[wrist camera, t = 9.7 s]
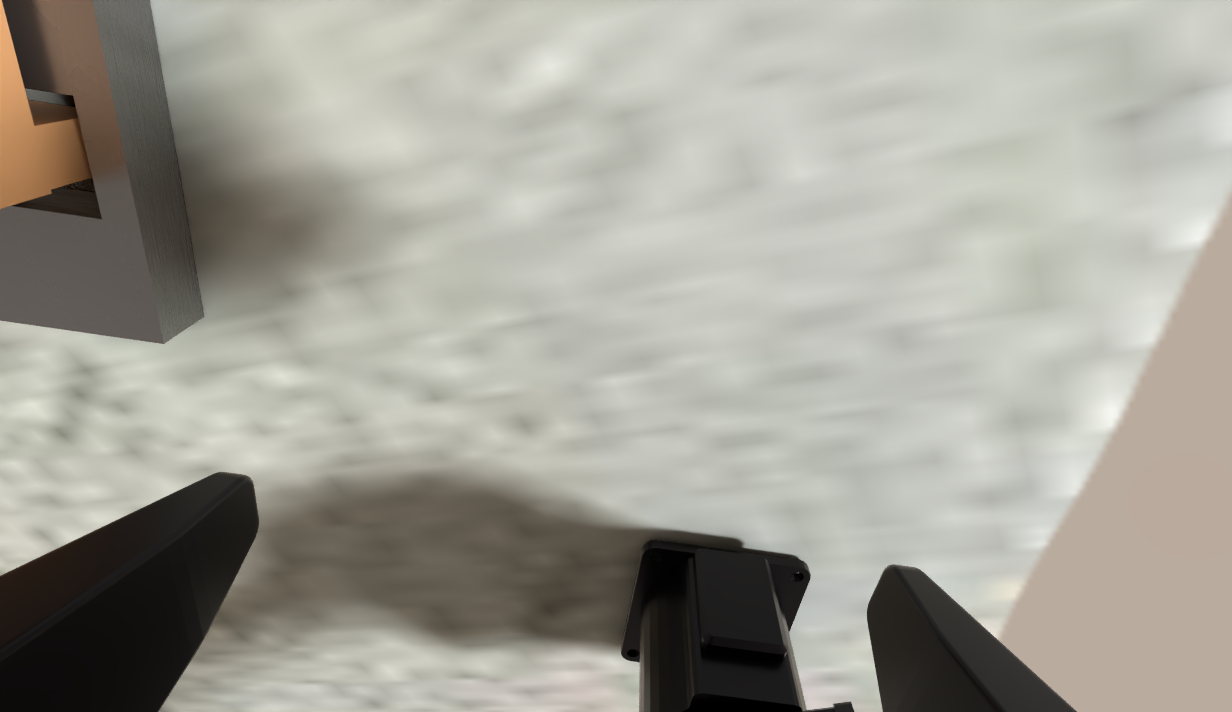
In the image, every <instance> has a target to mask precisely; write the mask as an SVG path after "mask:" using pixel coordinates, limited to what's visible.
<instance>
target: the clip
mask: <svg viewBox="0 0 1232 712" xmlns="http://www.w3.org/2000/svg"><path fill="white" fill-rule="evenodd" d="M89 178H92V174H91V170H90V165H89V161H88V157H87V153H86V148H85V144H84V140H83V136H82V131H81V127H80V123H79V119H78V114H77V110H76V108H75V107H68V106H62V105H56V104H50V103H44V102H37V101H31V100H27V96H26V92H25V88H24V84H23V80H22V77H21V73H20V69H19V65H18V61H17V57H16V53H15V50H14V46H13V42H12V38H11V34H10V30H9V27H8V23H7V19H6V15H5V11H4V7H3V3H2V0H0V209H1V208H5V207H8V206H12V205H15V204H18V203H22V202H25V201H28V200H32V199H35V198H38V197H42V196H45V195H48V194H52V192H51V189H55V188H58V187H62V186H65V185H69V184H72V183H75V182H79V181H82V180H86V179H89Z"/></svg>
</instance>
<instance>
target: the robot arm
mask: <svg viewBox="0 0 1232 712" xmlns="http://www.w3.org/2000/svg"><path fill="white" fill-rule="evenodd" d="M258 527H259V516H258V510H257V503H256V497H255V490H254V485H253V481H252V480H251V478H250V477H248V476H246V475H242V474H235V473H227V472H218V473H215V474H212V475H210V476H208V477H206V478H204V479H202V480H200V481H198V482H196V483H193V484H191V485H189V486H187V487H185V488H183V489H181V490H179V491H177V492H175V493H173V494H170V495H168V496H166V497H164V498H162V499H160V500H158V501H156V502H154V503H152V504H150V505H147V506H145V507H143V508H141V509H139V510H137V511H135V512H133V513H131V514H129V515H127V516H124V517H122V518H120V519H118V520H116V521H114V522H112V523H110V524H108V525H106V526H104V527H101V528H99V529H97V530H95V531H93V532H91V533H89V534H87V535H85V536H83V537H81V538H78V539H76V540H74V541H72V542H70V543H68V544H66V545H64V546H62V547H60V548H58V549H55V550H53V551H51V552H49V553H47V554H45V555H43V556H41V557H39V558H37V559H35V560H32V561H30V562H28V563H26V564H24V565H22V566H20V567H18V568H16V569H14V570H12V571H9V572H7V573H5V574H3V575H1V576H0V712H158V711H159V710H160V708H161V707H162V705H163V704H164V702H165V700H166V699H167V697H168V696H169V694H170V693H171V691H172V689H173V688H174V686H175V685H176V683H177V682H178V680H179V678H180V677H181V675H182V674H183V672H184V671H185V669H186V667H187V666H188V664H189V663H190V661H191V660H192V658H193V656H194V655H195V653H196V651H197V650H198V648H199V647H200V645H201V643H202V642H203V640H204V638H205V636H206V634H207V633H208V631H209V629H210V627H211V625H212V623H213V621H214V619H215V617H216V615H217V613H218V611H219V609H220V607H221V605H222V603H223V601H224V599H225V597H226V595H227V593H228V591H229V589H230V587H231V585H232V583H233V581H234V579H235V577H236V575H237V573H238V571H239V569H240V567H241V565H242V563H243V561H244V559H245V557H246V555H247V553H248V551H249V549H250V547H251V545H252V543H253V541H254V539H255V537H256V534H257V531H258ZM652 553H659V554H658V555H653V554H652ZM795 572H800V573H798V574H793V573H795ZM810 576H811V575H810V572H809V568H808V566H807V564H806V563H805V562H804V561H801V560H796V559H789V558H781V557H774V556H767V555H760V554H752V553H745V552H738V551H731V550H723V549H716V548H709V547H702V546H694V545H687V544H680V543H673V542H665V541H658V540H652V541H649V542H647V543H646V544H644V546H643V548H642V552H641V557H640V561H639V566H638V570H637V575H636V580H635V584H634V589H633V593H632V598H631V603H630V607H629V612H628V616H627V621H626V626H625V630H624V635H623V639H622V646H621V655H622V656H623V658H625V659H626V660H629V661H635V662H640V688H639V712H854V710H853V707H852V704H851V702H844V703H836V704H833V705H834V707H830V708H822V709H814V710H807V709H806V705H805V701H804V696H803V692H802V688H801V683H800V679H799V675H798V670H797V666H796V662H795V657H794V653H793V649H792V644H791V640H790V636H789V631H790V629H791V626H792V624H793V621H794V619H795V616H796V614H797V611H798V608H799V606H800V603H801V601H802V598H803V596H804V593H805V591H806V588H807V586H808V583H809V581H810ZM867 621H868V627H869V633H870V639H871V645H872V651H873V657H874V662H875V668H876V674H877V680H878V686H879V691H880V697H881V703H882V709H883V712H1077V711H1076V710H1074V709H1073V708H1072V707H1071V706H1070V705H1069V704H1068V703H1067V702H1066V701H1065V700H1063V699H1062V698H1061V697H1060V696H1059V695H1058V694H1057V693H1056V692H1055V691H1054V690H1052V689H1051V688H1050V687H1049V686H1048V685H1047V684H1046V683H1045V682H1044V681H1043V680H1041V679H1040V678H1039V677H1038V676H1037V675H1036V674H1035V673H1034V672H1032V670H1030V669H1029V668H1028V667H1027V666H1026V665H1025V664H1024V663H1023V662H1022V661H1020V660H1019V659H1018V658H1017V657H1016V656H1015V655H1014V654H1013V653H1012V652H1011V651H1010V650H1008V649H1007V648H1006V647H1005V646H1004V645H1003V644H1002V643H1001V642H1000V641H999V640H997V639H996V638H995V637H994V636H993V635H992V634H991V633H990V632H989V631H987V630H986V629H985V628H984V627H983V626H982V625H981V624H980V623H979V622H978V621H976V620H975V619H974V618H973V617H972V616H971V615H970V614H969V613H968V612H967V611H965V610H964V609H963V608H962V607H961V606H960V605H959V604H958V603H957V602H956V601H954V600H953V599H952V598H951V597H950V596H949V595H948V594H947V593H946V592H945V591H943V590H942V589H941V588H940V587H939V586H938V585H937V584H936V583H935V582H934V581H932V580H931V579H930V578H929V577H928V576H927V575H926V574H925V573H924V572H922V571H921V570H920V569H918V568H915V567H909V566H902V565H889V566H887V567H886V568H885V570H884V571H883V573H882V575H881V578H880V580H879V582H878V584H877V586H876V588H875V591H874V593H873V595H872V597H871V599H870V601H869V604H868V609H867Z"/></svg>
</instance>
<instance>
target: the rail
mask: <svg viewBox="0 0 1232 712" xmlns="http://www.w3.org/2000/svg"><path fill="white" fill-rule="evenodd" d="M2 3H3V7H4V11H5V15H6V19H7V23H8V27H9V30H10V34H11V38H12V42H13V46H14V50H15V53H16V57H17V61H18V65H19V69H20V73H21V77H22V80H23V84H24V88H27V89H33V90H40V91H46V92H53V93H59V94H66V95H72V96H73V97H74V102H75V106H76V110H77V114H78V119H79V123H80V127H81V131H82V136H83V140H84V144H85V148H86V153H87V157H88V161H89V165H90V170H91V174H92V178H93V183H94V187H95V191H96V193H95V192H88V191H81V190H75V189H68V188H61V187H58V188H55V189H51V192H52V194H48V195H45V196H42V197H38V198H35V199H32V200H28V201H25V202H22V203H18V204H15V205H12V206H8V207H5V208H1V209H0V320H1V321H8V322H15V323H22V324H29V325H36V326H43V327H50V328H57V329H64V330H71V331H78V332H85V333H92V334H99V335H106V336H113V337H120V338H127V339H133V340H140V341H147V342H154V343H161V344H164V343H166V342H167V341H169V340H170V339H172V338H173V337H175V336H176V335H178V334H179V333H181V332H182V331H184V330H185V329H186V328H188V327H189V326H191V325H192V324H194V323H195V322H197V321H198V320H200V319H201V318H203V317H204V313H203V308H202V302H201V296H200V290H199V284H198V279H197V273H196V267H195V261H194V255H193V250H192V244H191V238H190V232H189V226H188V221H187V215H186V209H185V203H184V197H183V191H182V186H181V180H180V174H179V168H178V162H177V157H176V151H175V145H174V139H173V133H172V128H171V122H170V116H169V110H168V104H167V99H166V93H165V87H164V81H163V75H162V69H161V64H160V58H159V52H158V46H157V40H156V35H155V29H154V23H153V17H152V11H151V6H150V0H2Z"/></svg>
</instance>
